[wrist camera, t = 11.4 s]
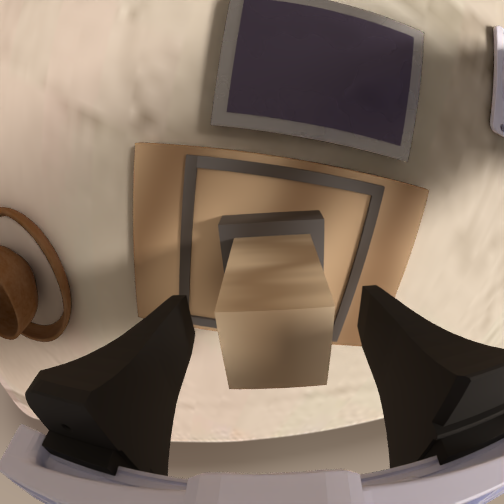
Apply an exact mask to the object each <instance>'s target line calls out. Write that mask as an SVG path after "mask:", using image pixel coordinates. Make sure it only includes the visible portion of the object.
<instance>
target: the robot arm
mask: <svg viewBox="0 0 504 504" xmlns="http://www.w3.org/2000/svg"><path fill="white" fill-rule="evenodd" d="M493 31H494V82H493V97H492V108H491V118H490V127H491V129H492V130H493V131H494V132H495V133H497V134H499V135H500V136H502V137H504V28H502V27H501V26H499V25H497V26H494V28H493ZM500 126H502V129H501V127H500ZM357 327H358V332H359V336H360V340H361V344H362V348H363V350H364V353H365V356H366V358H367V361H368V364H369V366H370V369H371V372H372V374H373V377H374V380H375V382H376V385H377V388H378V392H379V395H380V400H381V404H382V409H383V414H384V419H385V426H386V432H387V440H388V448H389V459H390V469H386V470H381V471H376V472H372V473H366V474H361V475H360V474H359V473H356V472H353V471H350V470H346V469H330V470H329V469H328V470H315V471H303V472H286V473H230V472H229V473H228V472H205V473H201V474H198V475H195V476H192V477H190V478H188V479H184V478H177V477H170V476H168V459H169V448H170V440H171V433H172V426H173V419H174V414H175V408H176V403H177V399H178V395H179V392H180V389H181V386H182V383H183V379H184V376H185V373H186V370H187V367H188V364H189V361H190V358H191V354H192V350H193V344H194V338H195V331H194V326H193V322H192V318H191V314H190V309H189V305H188V300H187V296H186V295H172V296H171V297H169V298H168V299H167V300H166V301H164V302H163V303H162V304H161V305H160V306H158V307H157V308H156V309H155V310H154V311H153V312H151V313H150V314H149V315H148V316H147V317H145V318H144V319H143V320H142V321H140V322H139V323H138V324H136V325H135V326H134V327H132V328H131V329H130V330H129V331H127V332H126V333H124V334H123V335H122V336H120V337H119V338H117V339H115V340H114V341H112V342H111V343H109V344H107V345H105V346H104V347H102V348H100V349H98V350H96V351H94V352H92V353H90V354H88V355H86V356H83V357H81V358H79V359H76V360H74V361H71V362H68V363H65V364H62V365H59V366H56V367H52V368H49V369H45V370H41V371H40V372H39V373H38V374H37V376H36V377H35V379H34V380H33V382H32V383H31V385H30V386H29V388H28V390H27V391H26V393H25V396H26V400H27V403H28V405H29V406H30V408H31V409H32V410H33V412H34V413H35V414H36V415H37V417H38V418H39V419H40V420H41V421H42V422H43V424H44V425H45V426H46V427H47V428H48V430H49V432H48V434H47V435H46V436H45V435H44V434H43V433H41V432H39V431H37V430H35V429H33V428H30V427H28V426H26V425H24V424H20V426H19V427H18V429H17V431H16V433H15V434H14V436H13V438H12V440H11V442H10V443H9V446H8V447H7V449H6V451H5V453H4V455H3V456H2V458H1V460H0V472H1V473H3V474H4V475H5V476H6V477H7V478H9V479H10V480H11V481H12V482H14V483H15V484H17V485H18V486H19V487H20V488H22V489H23V490H24V491H26V492H27V493H29V494H30V495H31V496H33V497H34V498H36V499H38V500H39V501H41V502H43V503H45V504H486V503H488V502H490V501H491V500H493V499H495V498H497V497H498V496H500V495H502V494H503V493H504V349H502V348H497V347H492V346H488V345H484V344H481V343H477V342H474V341H471V340H468V339H465V338H463V337H461V336H458V335H456V334H453V333H451V332H449V331H447V330H445V329H443V328H441V327H439V326H437V325H435V324H433V323H431V322H430V321H428V320H426V319H425V318H423V317H422V316H420V315H418V314H417V313H415V312H414V311H412V310H411V309H409V308H408V307H407V306H405V305H404V304H402V303H401V302H400V301H398V300H397V299H395V298H394V297H393V296H391V295H390V294H389V293H387V292H386V291H385V290H383V289H382V288H380V287H379V286H377V285H369V286H362V294H361V302H360V309H359V317H358V323H357Z"/></svg>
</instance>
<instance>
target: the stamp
mask: <svg viewBox="0 0 504 504" xmlns="http://www.w3.org/2000/svg"><path fill="white" fill-rule="evenodd" d="M218 230H219V238H220V246H221V254H222V261H223V269H224V277H223V281H222V285H221V289H220V293H219V296H218V300H217V304H216V308H215V312H214V313H215V319H216V324H217V329H218V335H219V340H220V345H221V350H222V355H223V360H224V365H225V370H226V375H227V380H228V385H229V389H267V388H290V387H306V386H318V385H327V378H328V370H329V362H330V354H331V345H332V336H333V326H334V315H335V304H334V301H333V298H332V295H331V292H330V289H329V286H328V283H327V280H326V277H325V275H324V217H323V216H322V214H321V212H320V210H310V211H289V212H270V213H253V214H238V215H223V216H222V217H221V219H220V221H219V224H218Z"/></svg>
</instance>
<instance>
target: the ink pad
mask: <svg viewBox="0 0 504 504" xmlns="http://www.w3.org/2000/svg"><path fill="white" fill-rule="evenodd" d="M423 45H424V32H422V31H420V30H418V29H415V28H413V27H411V26H408V25H406V24H403V23H401V22H398V21H395V20H393V19H390V18H387V17H384V16H381V15H379V14H375V13H372V12H369V11H366V10H363V9H359V8H356V7H352V6H349V5H345V4H341V3H337V2H333V1H329V0H230V3H229V8H228V13H227V19H226V24H225V30H224V36H223V42H222V48H221V54H220V61H219V67H218V74H217V81H216V88H215V95H214V102H213V110H212V118H211V125H216V126H226V127H236V128H244V129H252V130H260V131H267V132H274V133H280V134H286V135H292V136H298V137H304V138H309V139H314V140H320V141H325V142H329V143H334V144H339V145H343V146H348V147H352V148H356V149H361V150H365V151H369V152H373V153H377V154H380V155H384V156H388V157H392V158H395V159H399V160H402V161H406V162H408V158H409V153H410V148H411V143H412V137H413V132H414V126H415V119H416V113H417V106H418V99H419V90H420V82H421V72H422V60H423Z"/></svg>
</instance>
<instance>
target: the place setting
mask: <svg viewBox="0 0 504 504" xmlns="http://www.w3.org/2000/svg"><path fill="white" fill-rule="evenodd" d="M2 216H8V217H10V218H12V219H13V220H15V221H16V222H18V223H19V224H20V225H21V226H22V227H23V228H24V229H25V230H26V231H28V233H29V234H30V235H31V236H32V237H33V238H34V240H35V241H36V243H37V244H38V245H39V247H40V248H41V250H42V251H43V253H44V254H45V256H46V258H47V260H48V261H49V263H50V265H51V267H52V269H53V272H54V274H55V276H56V279H57V282H58V284H59V287H60V291H61V294H62V299H63V307H64V312H63V314H62V316H61V318H60V319H59V320H58V321H57V322H55V323H54V324H51V325H38V324H35V323H32V322H31V321H32V319H33V318H34V316H35V314H36V311H37V307H38V294H37V289H36V282H35V278H34V275H33V272H32V270H31V268H30V266H29V265H28V263H27V262H26V261H25V260H24V259H23V258H22V257H21V256H19V255H18V254H16V253H15V252H13V251H12V250H10V249H9V248H7V247H4V246H1V245H0V336H1V337H3V338H5V339H9V340H13V339H16V338H17V337H18V336H19V335H20V334H22V335H24V336H25V337H28V338H30V339H32V340H36V341H41V342H49V341H53V340H55V339H57V338H58V337H59V336H60V335H61V334H62V333H63V331H64V330H65V328H66V326H67V324H68V321H69V318H70V313H71V294H70V289H69V284H68V280H67V277H66V274H65V271H64V268H63V266H62V264H61V261H60V259H59V257H58V255H57V253H56V251H55V250H54V248H53V246H52V245H51V243H50V242H49V240H48V239H47V237H46V236H45V235H44V233H43V232H42V231H41V230H40V229H39V228H38V226H37V225H36V224H34V223H33V222H32V221H31V220H30V219H29V218H27V217H26V216H25V215H23V214H22V213H20V212H18V211H16V210H13V209H11V208H5V207H0V217H2Z"/></svg>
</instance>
